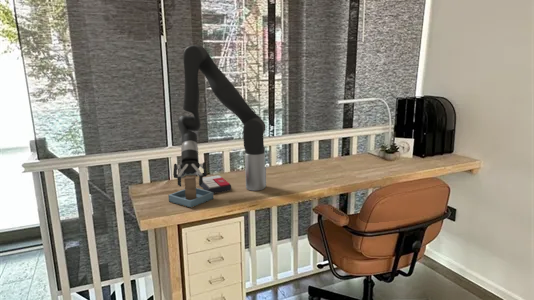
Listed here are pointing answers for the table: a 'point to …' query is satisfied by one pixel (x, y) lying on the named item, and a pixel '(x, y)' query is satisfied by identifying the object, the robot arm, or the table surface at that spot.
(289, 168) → the table surface
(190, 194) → the walnut block
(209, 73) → the robot arm
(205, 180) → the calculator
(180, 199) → the tray
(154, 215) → the table surface
